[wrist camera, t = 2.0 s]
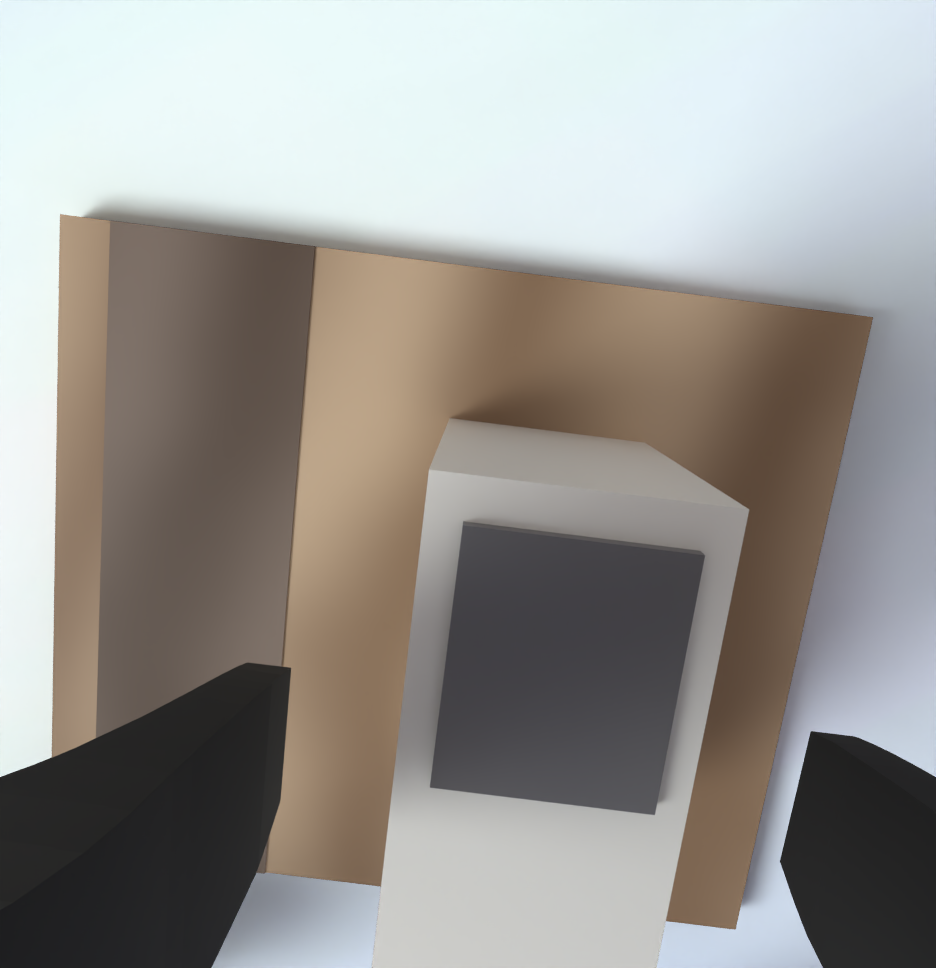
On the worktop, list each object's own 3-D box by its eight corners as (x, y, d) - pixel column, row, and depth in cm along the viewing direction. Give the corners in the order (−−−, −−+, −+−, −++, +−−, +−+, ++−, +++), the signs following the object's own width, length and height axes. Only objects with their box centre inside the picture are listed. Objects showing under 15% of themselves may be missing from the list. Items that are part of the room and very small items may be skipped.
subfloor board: (857, 317, 15) (873, 317, 14) (726, 910, 18) (736, 931, 17) (76, 219, 15) (58, 214, 14) (65, 829, 18) (49, 847, 17)
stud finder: (644, 442, 15) (754, 512, 9) (584, 793, 17) (643, 1056, 11) (449, 418, 15) (427, 472, 9) (407, 771, 17) (364, 1022, 11)
